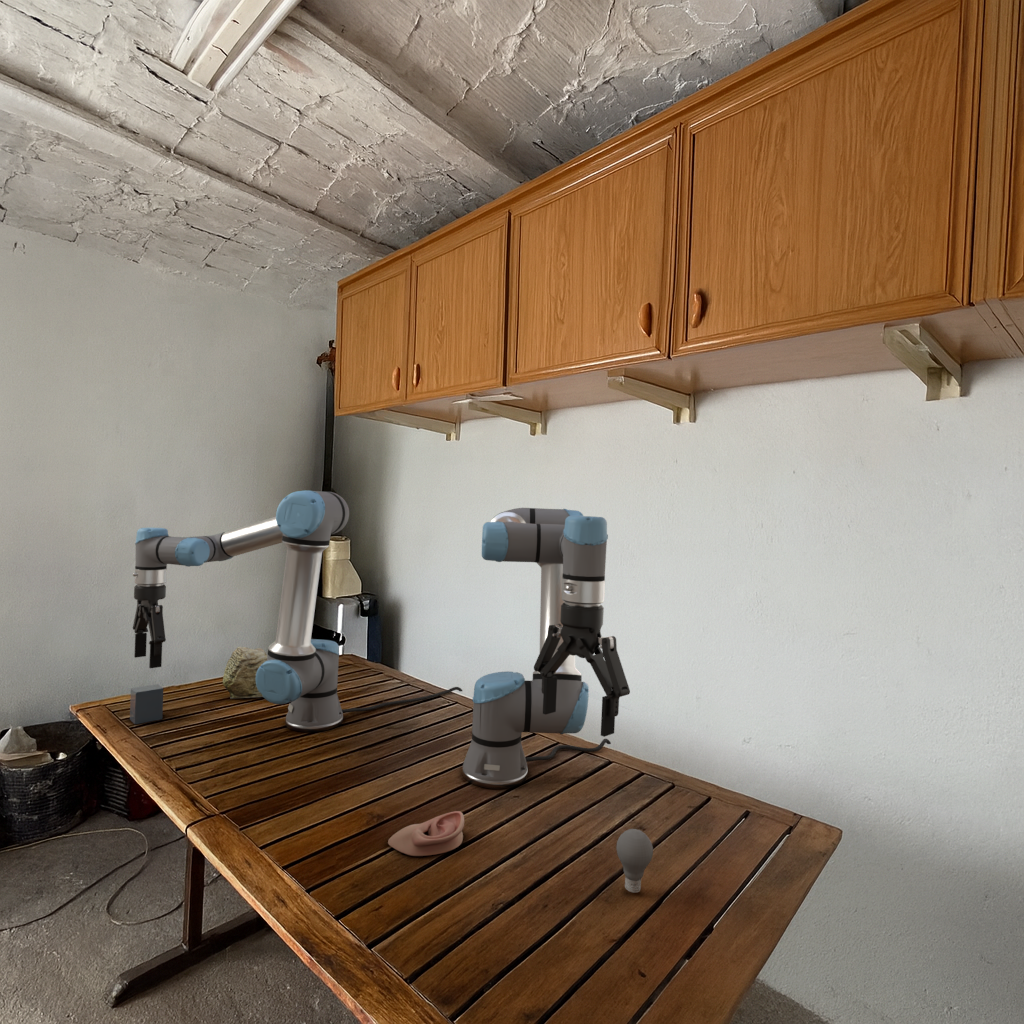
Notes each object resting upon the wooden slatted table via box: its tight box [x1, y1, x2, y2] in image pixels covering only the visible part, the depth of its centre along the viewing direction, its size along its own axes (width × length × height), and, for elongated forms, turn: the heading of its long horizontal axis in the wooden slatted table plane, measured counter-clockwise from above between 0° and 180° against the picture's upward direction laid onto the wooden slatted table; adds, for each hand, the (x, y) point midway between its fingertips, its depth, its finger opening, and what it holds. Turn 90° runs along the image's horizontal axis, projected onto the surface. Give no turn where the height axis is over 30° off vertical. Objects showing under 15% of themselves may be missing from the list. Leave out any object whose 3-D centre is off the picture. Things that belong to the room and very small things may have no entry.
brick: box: [129, 683, 164, 725], centre depth 173 cm, size 5×7×9 cm
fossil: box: [222, 646, 268, 699], centre depth 198 cm, size 9×18×15 cm, turn 132°
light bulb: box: [615, 828, 654, 894], centre depth 106 cm, size 6×6×10 cm
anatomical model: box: [387, 810, 465, 857], centre depth 118 cm, size 13×4×12 cm
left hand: (147, 662), depth 173 cm, fingers open, 13 cm apart
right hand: (577, 723), depth 112 cm, fingers open, 13 cm apart
